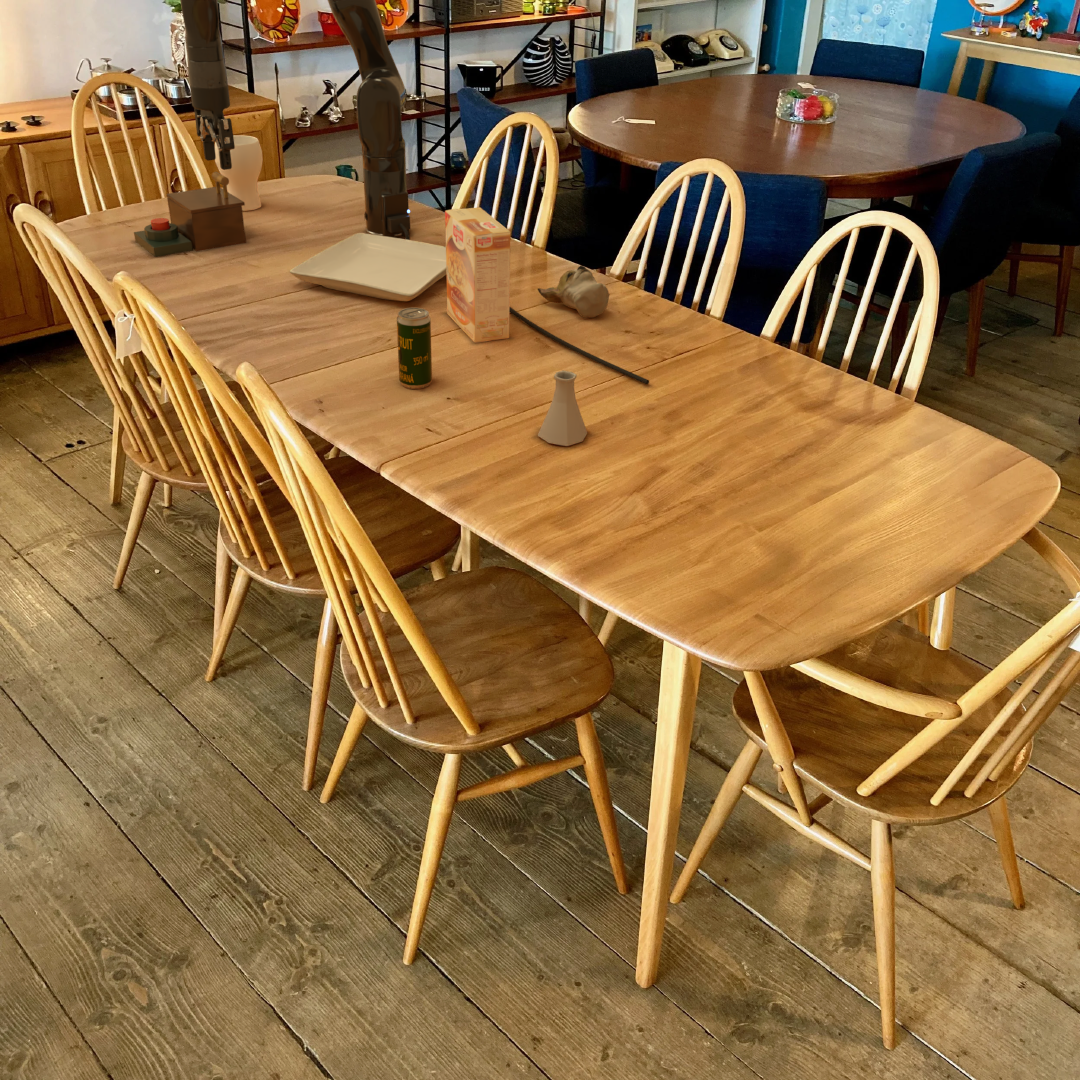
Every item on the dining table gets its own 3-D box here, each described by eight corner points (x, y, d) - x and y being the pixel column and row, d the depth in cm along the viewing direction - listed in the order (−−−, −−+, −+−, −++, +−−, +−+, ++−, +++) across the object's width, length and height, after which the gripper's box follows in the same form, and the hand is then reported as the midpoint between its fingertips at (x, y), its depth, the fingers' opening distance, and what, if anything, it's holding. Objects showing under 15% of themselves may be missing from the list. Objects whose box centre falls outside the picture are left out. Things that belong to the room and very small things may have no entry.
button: (172, 230, 232) (171, 221, 231) (155, 232, 230) (154, 224, 229) (166, 225, 234) (165, 216, 233) (149, 228, 233) (148, 219, 232)
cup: (256, 214, 254) (248, 147, 246) (213, 210, 256) (204, 143, 248) (274, 202, 263) (268, 136, 255) (233, 198, 265) (225, 133, 257)
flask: (556, 420, 171) (558, 360, 166) (595, 433, 168) (599, 373, 163) (529, 437, 166) (530, 376, 161) (569, 451, 163) (572, 390, 158)
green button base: (192, 250, 232) (190, 231, 230) (155, 257, 228) (152, 238, 226) (171, 235, 240) (169, 216, 238) (135, 241, 236) (132, 222, 234)
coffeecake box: (445, 313, 207) (443, 209, 196) (481, 309, 209) (481, 206, 199) (473, 343, 196) (472, 234, 185) (510, 338, 198) (512, 230, 187)
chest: (220, 225, 247) (216, 190, 242) (246, 242, 238) (241, 206, 233) (172, 233, 241) (166, 197, 237) (196, 251, 232) (191, 213, 228)
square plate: (288, 288, 216) (286, 269, 213) (359, 248, 237) (358, 230, 235) (412, 311, 207) (411, 291, 205) (473, 267, 229) (473, 249, 227)
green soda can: (416, 373, 184) (413, 304, 178) (439, 382, 182) (437, 313, 175) (392, 382, 181) (389, 313, 174) (415, 392, 178) (413, 322, 172)
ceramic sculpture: (577, 279, 199) (534, 259, 210) (576, 326, 203) (534, 304, 214) (626, 271, 204) (581, 252, 215) (623, 317, 208) (580, 296, 219)
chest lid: (219, 189, 243) (216, 165, 240) (244, 205, 234) (242, 180, 231) (166, 197, 237) (163, 172, 234) (191, 213, 228) (187, 188, 225)
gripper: (240, 87, 222) (249, 170, 231) (212, 75, 231) (222, 154, 240) (204, 91, 218) (214, 174, 227) (177, 78, 227) (188, 158, 236)
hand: (218, 164), depth 233 cm, fingers open, 8 cm apart
